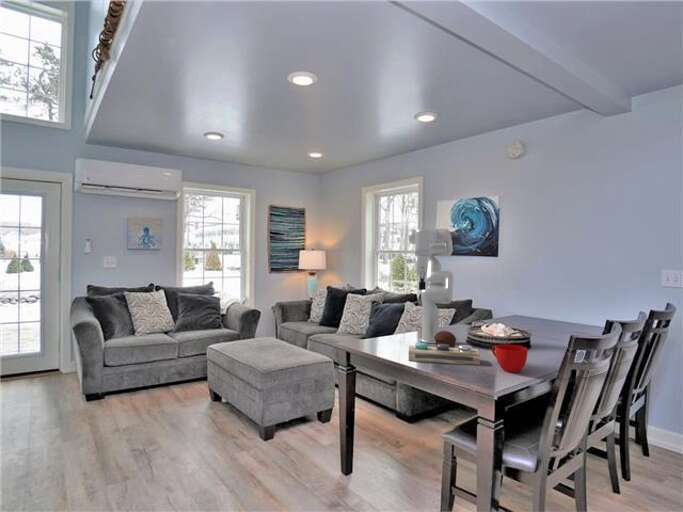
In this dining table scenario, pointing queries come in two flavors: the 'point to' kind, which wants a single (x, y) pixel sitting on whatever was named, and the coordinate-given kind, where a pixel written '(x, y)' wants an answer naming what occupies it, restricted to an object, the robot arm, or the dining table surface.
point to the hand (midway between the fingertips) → (422, 289)
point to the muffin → (445, 338)
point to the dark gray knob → (443, 347)
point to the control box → (444, 356)
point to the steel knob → (464, 348)
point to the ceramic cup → (510, 357)
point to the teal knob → (421, 346)
